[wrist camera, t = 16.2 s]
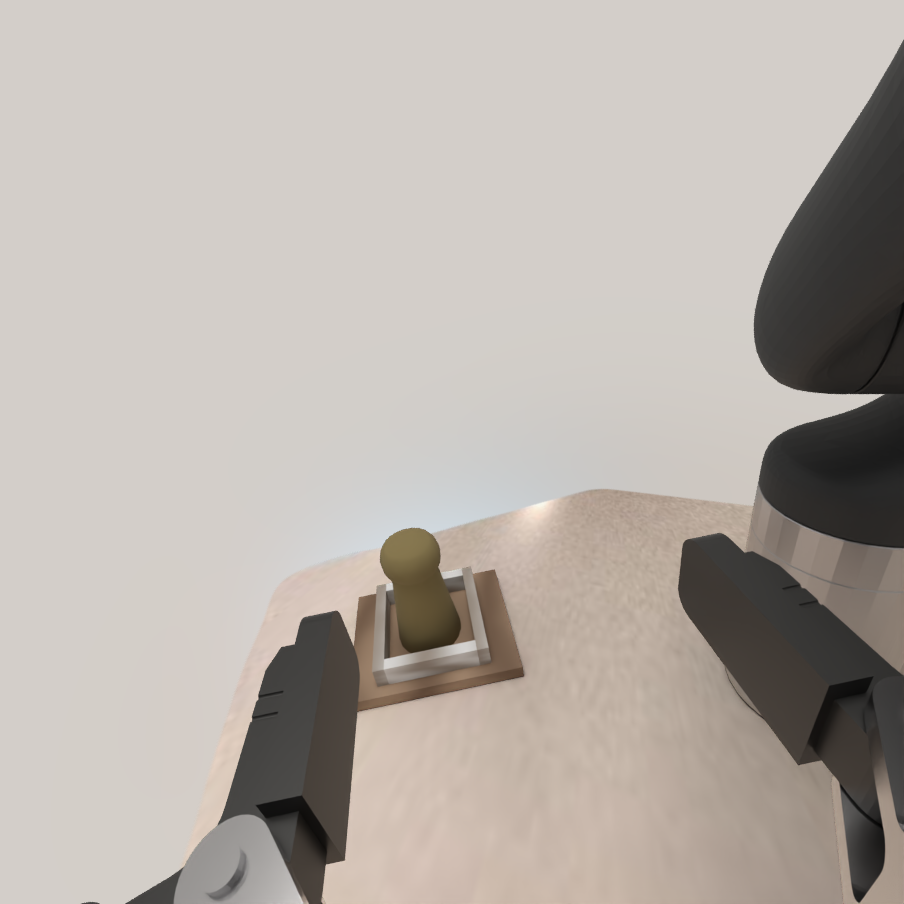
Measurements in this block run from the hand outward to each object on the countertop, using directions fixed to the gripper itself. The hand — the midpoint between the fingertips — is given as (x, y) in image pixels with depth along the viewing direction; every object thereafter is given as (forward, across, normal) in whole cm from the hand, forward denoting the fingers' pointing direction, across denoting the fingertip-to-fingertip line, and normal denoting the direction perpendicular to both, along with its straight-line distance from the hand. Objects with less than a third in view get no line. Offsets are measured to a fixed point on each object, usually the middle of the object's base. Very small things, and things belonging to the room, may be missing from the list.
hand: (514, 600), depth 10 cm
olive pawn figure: (+22, +6, +26) cm, 35 cm away
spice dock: (+22, +6, +28) cm, 36 cm away
